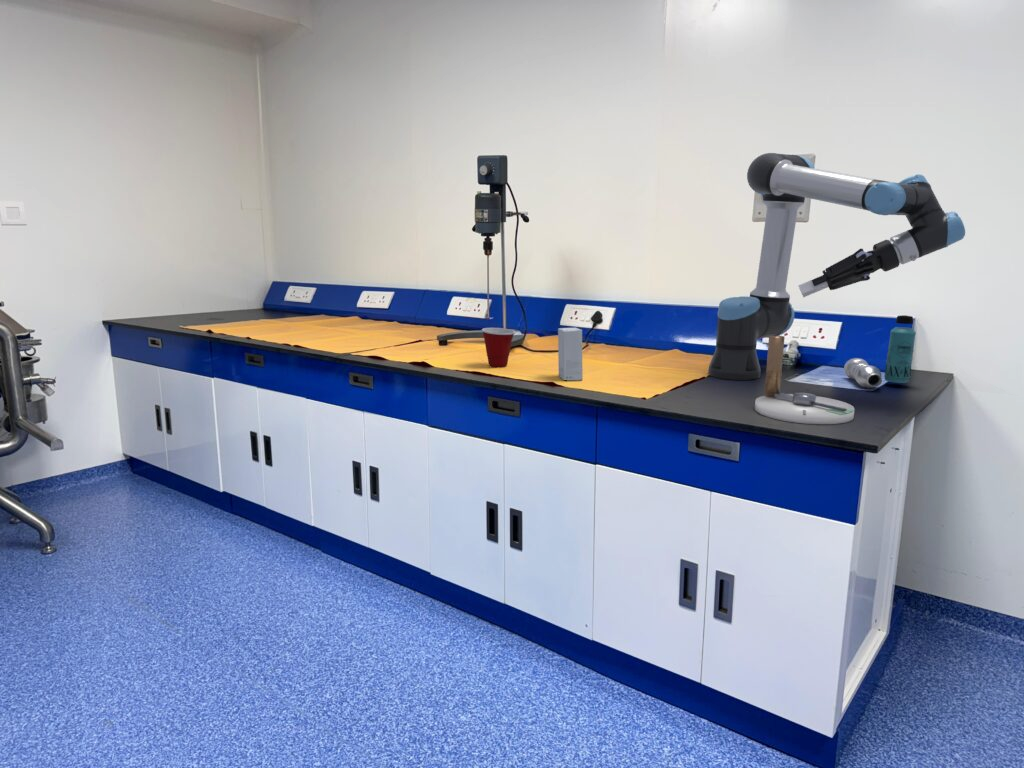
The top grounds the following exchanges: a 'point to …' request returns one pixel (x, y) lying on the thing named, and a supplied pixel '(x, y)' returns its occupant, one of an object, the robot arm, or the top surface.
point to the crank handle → (775, 377)
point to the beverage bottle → (900, 352)
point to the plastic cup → (498, 345)
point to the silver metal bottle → (863, 373)
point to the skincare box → (570, 353)
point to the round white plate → (804, 410)
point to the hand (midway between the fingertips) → (801, 291)
